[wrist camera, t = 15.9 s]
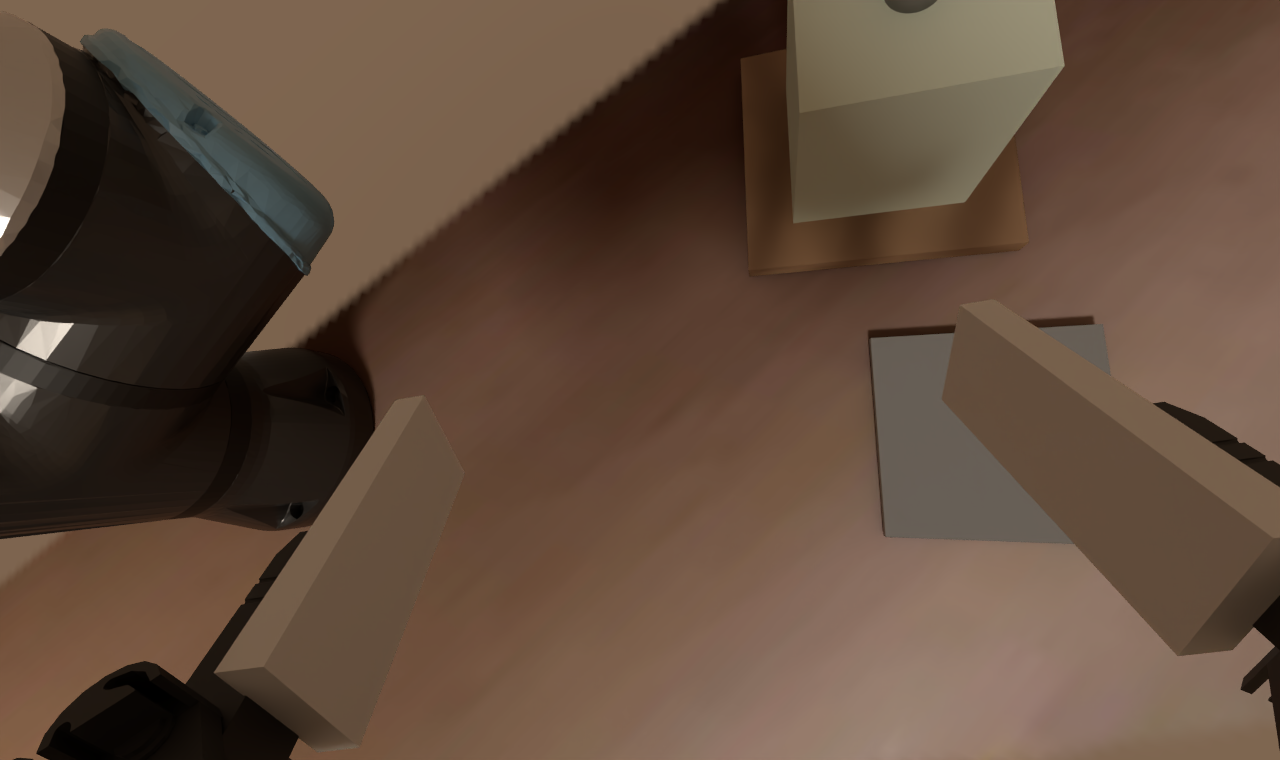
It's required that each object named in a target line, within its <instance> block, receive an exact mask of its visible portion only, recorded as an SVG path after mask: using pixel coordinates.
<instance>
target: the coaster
mask: <svg viewBox="0 0 1280 760" xmlns="http://www.w3.org/2000/svg"><path fill="white" fill-rule="evenodd" d="M1039 329H1040V330H1042V331H1043V332H1045V333H1046V334H1048V335H1049V336H1051V337H1052V338H1054V339H1055V340H1057V341H1058V342H1060V343H1061V344H1063V345H1064V346H1066V347H1067V348H1069V349H1070V350H1072V351H1074V352H1075V353H1077V354H1078V355H1080V356H1081V357H1083V358H1084V359H1086V360H1087V361H1089V362H1090V363H1092V364H1093V365H1095V366H1096V367H1098V368H1099V369H1101V370H1102V371H1104V372H1105V373H1107V374H1108V375H1110V376H1111V374H1110V368H1109V361H1108V355H1107V348H1106V341H1105V335H1104V328H1103V324H1095V325H1079V326H1062V327H1046V328H1039ZM953 338H954V333H947V334H930V335H914V336H898V337H881V338H870V339H869V349H870V362H871V375H872V389H873V402H874V415H875V428H876V441H877V455H878V468H879V481H880V494H881V507H882V521H883V534H884V536H885V537H902V538H929V539H956V540H982V541H1009V542H1035V543H1062V544H1074V543H1073V542H1072V541H1071V540H1070V538H1069V537H1068V536H1067V535H1066V534H1065V533H1064V532H1063V531H1062V530H1061V529H1060V528H1059V526H1058V525H1057V524H1056V523H1055V522H1054V521H1053V520H1052V519H1051V518H1050V517H1049V516H1048V515H1047V513H1046V512H1045V511H1044V510H1043V509H1042V508H1041V507H1040V506H1039V505H1038V504H1037V503H1036V502H1035V500H1034V499H1033V498H1032V497H1031V496H1030V495H1029V494H1028V493H1027V492H1026V491H1025V490H1024V488H1023V487H1022V486H1021V485H1020V484H1019V483H1018V482H1017V481H1016V480H1015V479H1014V478H1013V477H1012V475H1011V474H1010V473H1009V472H1008V471H1007V470H1006V469H1005V468H1004V467H1003V466H1002V465H1001V464H1000V462H999V461H998V460H997V459H996V458H995V457H994V456H993V455H992V454H991V453H990V452H989V450H988V449H987V448H986V447H985V446H984V445H983V444H982V443H981V442H980V441H979V440H978V439H977V437H976V436H975V435H974V434H973V433H972V432H971V431H970V430H969V429H968V428H967V427H966V426H965V424H964V423H963V422H962V421H961V420H960V419H959V418H958V417H957V416H956V415H955V414H954V412H953V411H952V410H951V409H950V408H949V407H948V406H947V405H946V404H945V403H944V402H943V401H942V394H943V389H944V384H945V379H946V374H947V369H948V364H949V358H950V353H951V348H952V343H953Z"/></svg>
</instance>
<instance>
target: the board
mask: <svg viewBox="0 0 1280 760" xmlns="http://www.w3.org/2000/svg"><path fill="white" fill-rule="evenodd" d="M786 61H787V49H783V50H779V51H774V52H769V53H764V54H760V55H755V56H750V57H746V58H741V81H742V108H743V134H744V161H745V187H746V214H747V240H748V267H749V276H750V277H751V276H761V275H771V274H782V273H792V272H802V271H813V270H823V269H833V268H843V267H854V266H864V265H874V264H885V263H895V262H905V261H915V260H926V259H936V258H946V257H957V256H967V255H977V254H988V253H998V252H1008V251H1018V250H1020V249H1022V248H1023V247H1024V246H1025V245H1026V244H1027V243H1028V242H1029V240H1028V232H1027V224H1026V217H1025V209H1024V202H1023V194H1022V186H1021V179H1020V171H1019V164H1018V156H1017V148H1016V141H1015V134H1014V136H1013V137H1012V138H1011V140H1010V141H1009V143H1008V144H1007V145H1006V147H1005V148H1004V149H1003V151H1002V152H1001V154H1000V155H999V156H998V158H997V159H996V160H995V162H994V163H993V164H992V166H991V167H990V169H989V170H988V171H987V173H986V174H985V175H984V177H983V178H982V180H981V181H980V182H979V184H978V185H977V186H976V188H975V189H974V191H973V192H972V193H971V195H970V196H969V197H968V199H967V200H966V202H963V203H955V204H947V205H939V206H931V207H923V208H914V209H906V210H898V211H890V212H882V213H874V214H865V215H857V216H849V217H841V218H833V219H825V220H817V221H808V222H800V223H793V210H792V191H791V172H790V153H789V135H788V116H787V97H786Z"/></svg>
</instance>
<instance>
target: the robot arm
mask: <svg viewBox="0 0 1280 760" xmlns="http://www.w3.org/2000/svg"><path fill="white" fill-rule="evenodd" d="M80 42H81V44H82V45H83V51H82V50H79V49H76V48H74V47H71V46H69V45H68V44H66V43H64V42H62V41H61V40H59V39H57V38H55V37H53V36H52V35H50V34H48V33H46V32H45V31H43V30H41V29H39V28H38V27H36V26H34V25H33V24H31V23H29V22H27V21H25V20H23V19H21V18H19V17H17V16H15V15H12V14H10V13H7V12H4V11H0V539H5V538H13V537H23V536H31V535H40V534H48V533H57V532H66V531H74V530H83V529H91V528H100V527H109V526H117V525H126V524H134V523H143V522H152V521H160V520H168V519H178V518H188V517H196V518H201V519H206V520H211V521H216V522H221V523H227V524H232V525H237V526H242V527H247V528H252V529H257V530H264V531H280V530H286V529H293V528H300V527H306V526H310V525H312V526H311V528H310V529H309V531H305V532H300V533H299V534H298V535H297V536H296V537H294V538H293V539H292V540H291V541H290V542H289V543H288V544H287V545H286V546H285V547H284V548H283V549H282V550H281V551H280V552H278V553H277V554H276V556H275V557H274V558H273V560H272V561H271V563H270V564H269V566H268V567H267V568H266V570H265V571H264V573H263V574H262V576H261V577H260V578H259V580H260V582H259V584H255V586H254V587H253V588H252V590H251V591H250V593H249V594H248V596H247V597H246V598H245V604H243V605H241V606H240V607H239V608H238V610H237V611H236V613H235V614H234V616H233V617H232V618H231V620H230V621H229V623H228V624H227V626H226V627H225V629H224V630H223V631H222V633H221V634H220V636H219V637H218V639H217V640H216V641H215V643H214V644H213V646H212V647H211V649H210V650H209V651H208V653H207V654H206V656H205V657H204V659H203V660H202V661H201V663H200V664H199V666H198V667H197V669H196V670H195V671H194V673H193V674H192V676H191V677H190V679H189V680H188V681H187V683H186V684H184V683H182V682H181V681H180V680H178V679H177V678H175V677H174V676H173V675H171V674H170V673H168V672H167V671H165V670H164V669H163V668H161V667H160V666H158V665H157V664H154V663H150V662H146V661H144V662H139V663H135V664H131V665H127V666H125V667H123V668H121V669H119V670H117V671H115V672H113V673H111V674H109V675H107V676H105V677H104V678H103V679H101V680H100V681H98V682H97V683H96V684H94V685H93V686H91V687H90V688H89V689H87V690H86V691H84V692H83V693H82V694H81V695H80V696H79V697H78V698H77V699H76V700H74V701H73V702H72V703H71V704H70V705H69V706H68V707H67V708H66V709H65V710H64V711H63V712H62V713H61V714H60V715H59V717H58V718H57V719H56V720H55V722H54V723H53V724H52V726H51V727H50V728H49V730H48V731H47V732H46V733H45V735H44V737H43V739H42V742H41V744H40V746H39V748H38V750H37V753H36V754H38V755H40V756H42V757H44V758H46V759H48V760H291V759H290V758H289V756H290V754H291V752H292V750H293V748H294V746H295V744H296V742H297V740H298V738H300V739H301V740H302V741H303V742H305V743H306V744H307V745H309V746H310V747H311V748H313V749H314V750H315V751H317V752H324V751H333V750H342V749H351V748H359V747H360V744H361V742H362V739H363V736H364V734H365V731H366V729H367V726H368V723H369V721H370V718H371V716H372V713H373V710H374V708H375V705H376V703H377V700H378V697H379V695H380V692H381V690H382V687H383V684H384V682H385V679H386V677H387V674H388V671H389V669H390V666H391V664H392V661H393V658H394V656H395V653H396V651H397V648H398V645H399V643H400V640H401V638H402V635H403V632H404V630H405V627H406V625H407V622H408V619H409V617H410V614H411V612H412V609H413V606H414V604H415V601H416V599H417V596H418V593H419V591H420V588H421V586H422V583H423V580H424V578H425V575H426V573H427V570H428V567H429V565H430V562H431V559H432V557H433V554H434V552H435V549H436V546H437V544H438V541H439V539H440V536H441V533H442V531H443V528H444V526H445V523H446V520H447V518H448V515H449V513H450V510H451V507H452V505H453V502H454V500H455V497H456V494H457V492H458V489H459V487H460V484H461V481H462V479H463V476H464V474H465V473H464V471H463V469H462V467H461V465H460V463H459V461H458V459H457V457H456V456H455V454H454V452H453V450H452V448H451V446H450V444H449V442H448V440H447V438H446V436H445V434H444V432H443V430H442V429H441V427H440V425H439V423H438V421H437V419H436V417H435V415H434V413H433V411H432V409H431V407H430V405H429V404H428V402H427V400H426V398H425V396H424V395H422V396H416V397H410V398H404V399H398V400H395V402H394V403H393V405H392V406H391V408H390V409H389V411H388V412H387V414H386V415H385V417H384V418H383V420H382V421H381V423H380V424H379V426H378V427H377V429H376V430H375V432H374V433H373V418H372V410H371V405H370V401H369V398H368V395H367V392H366V390H365V387H364V385H363V383H362V382H361V380H360V378H359V377H358V375H357V374H356V373H355V372H354V370H353V369H352V368H351V367H350V366H348V365H347V364H346V363H345V362H343V361H342V360H340V359H338V358H337V357H334V356H332V355H329V354H325V353H321V352H316V351H312V350H307V349H302V348H281V349H272V350H261V351H251V352H246V351H247V349H248V348H249V347H250V345H251V344H252V343H253V341H254V340H255V339H256V338H257V336H258V335H259V334H260V332H261V331H262V330H263V328H264V327H265V326H266V324H267V323H268V322H269V321H270V319H271V318H272V317H273V315H274V314H275V312H276V311H277V310H278V309H279V307H280V306H281V305H282V304H283V302H284V301H285V300H286V298H287V297H288V296H289V294H290V293H291V292H292V290H293V289H294V288H295V287H296V285H297V284H298V283H299V281H300V280H301V279H302V277H303V276H304V275H308V274H309V273H310V270H311V266H310V264H311V263H312V261H313V260H314V258H315V257H316V255H317V254H318V252H319V251H320V249H321V248H322V246H323V245H324V243H325V242H326V240H327V239H328V237H329V236H330V234H331V233H332V229H333V227H334V217H333V212H332V209H331V207H330V204H329V203H328V201H327V200H326V199H325V197H324V196H323V195H322V194H321V193H320V192H319V191H318V190H317V189H316V188H315V187H314V186H313V185H312V184H311V183H310V182H309V181H308V180H307V179H305V178H304V177H303V176H302V175H301V174H300V173H299V172H298V171H297V170H295V169H294V168H293V167H292V166H290V164H288V163H287V162H286V161H285V160H284V159H282V158H281V157H280V156H279V155H278V154H277V153H276V152H274V151H273V150H272V149H271V148H270V147H269V146H267V145H266V144H265V143H264V142H262V141H261V140H260V139H259V138H258V137H256V136H255V135H254V134H253V133H252V132H250V131H249V130H248V129H247V128H245V127H244V126H243V125H242V124H240V123H239V122H238V121H237V120H236V119H234V118H233V117H232V116H231V115H229V114H228V113H227V112H226V111H224V110H223V109H222V108H221V107H219V106H218V105H217V104H216V103H214V102H213V101H212V100H211V99H210V98H208V97H207V96H206V95H204V94H203V93H202V92H201V91H199V90H198V89H197V88H195V87H194V86H193V85H192V84H190V83H189V82H188V81H187V80H185V79H184V78H183V77H181V76H180V75H179V74H177V73H176V72H175V71H173V70H172V69H171V68H169V67H168V66H167V65H165V64H164V63H163V62H162V61H160V60H159V59H157V58H156V57H155V56H153V55H152V54H151V53H149V52H148V51H146V50H145V49H143V48H142V47H140V46H138V45H136V44H135V43H133V42H132V41H130V40H129V39H128V38H127V37H126V36H125V35H123V34H121V33H119V32H117V31H115V30H112V29H100V30H98V31H97V32H96V33H95V34H94V35H84V36H83V38H82V39H81V41H80ZM942 401H943V402H944V403H945V404H946V405H947V406H948V407H949V408H950V409H951V410H952V411H953V412H954V414H955V415H956V416H957V417H958V418H959V419H960V420H961V421H962V422H963V423H964V424H965V426H966V427H967V428H968V429H969V430H970V431H971V432H972V433H973V434H974V435H975V436H976V437H977V439H978V440H979V441H980V442H981V443H982V444H983V445H984V446H985V447H986V448H987V449H988V450H989V452H990V453H991V454H992V455H993V456H994V457H995V458H996V459H997V460H998V461H999V462H1000V464H1001V465H1002V466H1003V467H1004V468H1005V469H1006V470H1007V471H1008V472H1009V473H1010V474H1011V475H1012V477H1013V478H1014V479H1015V480H1016V481H1017V482H1018V483H1019V484H1020V485H1021V486H1022V487H1023V488H1024V490H1025V491H1026V492H1027V493H1028V494H1029V495H1030V496H1031V497H1032V498H1033V499H1034V500H1035V502H1036V503H1037V504H1038V505H1039V506H1040V507H1041V508H1042V509H1043V510H1044V511H1045V512H1046V513H1047V515H1048V516H1049V517H1050V518H1051V519H1052V520H1053V521H1054V522H1055V523H1056V524H1057V525H1058V526H1059V528H1060V529H1061V530H1062V531H1063V532H1064V533H1065V534H1066V535H1067V536H1068V537H1069V538H1070V540H1071V541H1072V542H1073V543H1074V544H1075V545H1076V546H1077V547H1078V548H1079V549H1080V550H1081V551H1082V553H1083V554H1084V555H1085V556H1086V557H1087V558H1088V559H1089V560H1090V561H1091V562H1092V563H1093V565H1094V566H1095V567H1096V568H1097V569H1098V570H1099V571H1100V572H1101V573H1102V574H1103V575H1104V576H1105V578H1106V579H1107V580H1108V581H1109V582H1110V583H1111V584H1112V585H1113V586H1114V587H1115V588H1116V589H1117V591H1118V592H1119V593H1120V594H1121V595H1122V596H1123V597H1124V598H1125V599H1126V600H1127V601H1128V603H1129V604H1130V605H1131V606H1132V607H1133V608H1134V609H1135V610H1136V611H1137V612H1138V613H1139V614H1140V616H1141V617H1142V618H1143V619H1144V620H1145V621H1146V622H1147V623H1148V624H1149V625H1150V626H1151V627H1152V629H1153V630H1154V631H1155V632H1156V633H1157V634H1158V635H1159V636H1160V637H1161V638H1162V639H1163V641H1164V642H1165V643H1166V644H1167V645H1168V646H1169V647H1170V648H1171V649H1172V650H1173V651H1174V652H1175V654H1176V655H1177V656H1184V655H1193V654H1202V653H1210V652H1219V651H1228V650H1233V649H1234V648H1235V647H1236V646H1237V645H1238V644H1239V643H1240V641H1241V640H1242V639H1243V638H1244V637H1245V636H1246V635H1247V634H1248V633H1249V632H1250V631H1251V629H1252V628H1253V627H1255V628H1256V629H1257V630H1258V631H1259V632H1260V633H1261V634H1262V635H1264V636H1265V637H1266V638H1267V639H1268V640H1269V641H1270V642H1271V643H1272V644H1273V645H1275V647H1274V648H1273V649H1272V650H1271V651H1270V652H1269V653H1268V654H1267V655H1266V656H1265V657H1264V658H1263V659H1262V660H1261V661H1260V662H1259V663H1258V664H1257V665H1256V666H1255V667H1254V668H1253V669H1252V670H1251V671H1250V672H1249V673H1248V674H1247V675H1246V676H1245V677H1244V678H1243V682H1242V686H1241V690H1243V691H1245V692H1248V693H1250V694H1253V693H1254V692H1255V691H1256V690H1257V689H1258V688H1259V687H1260V686H1261V685H1262V684H1263V683H1264V682H1265V681H1266V680H1267V679H1269V683H1270V689H1271V697H1270V698H1269V699H1268V701H1270V702H1272V703H1273V709H1274V716H1275V722H1276V729H1277V735H1278V741H1279V749H1280V465H1279V464H1278V463H1276V462H1275V461H1267V460H1266V458H1265V455H1263V454H1262V453H1260V452H1259V451H1257V450H1255V449H1254V448H1252V447H1251V446H1249V445H1247V444H1246V443H1239V442H1238V441H1237V438H1236V437H1234V436H1233V435H1231V434H1230V433H1228V432H1226V431H1225V430H1223V429H1222V428H1220V427H1218V426H1217V425H1215V424H1214V423H1212V422H1210V421H1209V420H1207V419H1206V418H1204V417H1201V416H1199V415H1196V414H1194V413H1191V412H1189V411H1186V410H1183V409H1181V408H1178V407H1176V406H1173V405H1171V404H1168V403H1166V402H1160V403H1153V404H1152V403H1151V402H1149V401H1148V400H1146V399H1145V398H1143V397H1142V396H1140V395H1139V394H1137V393H1136V392H1134V391H1133V390H1131V389H1130V388H1128V387H1127V386H1125V385H1124V384H1122V383H1121V382H1119V381H1118V380H1116V379H1114V378H1113V377H1111V376H1110V375H1108V374H1107V373H1105V372H1104V371H1102V370H1101V369H1099V368H1098V367H1096V366H1095V365H1093V364H1092V363H1090V362H1089V361H1087V360H1086V359H1084V358H1083V357H1081V356H1080V355H1078V354H1077V353H1075V352H1074V351H1072V350H1070V349H1069V348H1067V347H1066V346H1064V345H1063V344H1061V343H1060V342H1058V341H1057V340H1055V339H1054V338H1052V337H1051V336H1049V335H1048V334H1046V333H1045V332H1043V331H1042V330H1040V329H1039V328H1037V327H1036V326H1034V325H1033V324H1031V323H1030V322H1028V321H1027V320H1025V319H1023V318H1022V317H1020V316H1019V315H1017V314H1016V313H1014V312H1013V311H1011V310H1010V309H1008V308H1007V307H1005V306H1004V305H1002V304H1001V303H999V302H998V301H996V300H995V299H992V300H986V301H980V302H974V303H968V304H962V305H960V307H959V312H958V317H957V323H956V328H955V333H954V338H953V343H952V348H951V353H950V358H949V364H948V369H947V374H946V379H945V384H944V389H943V394H942ZM14 760H33V759H27V758H16V759H14Z"/></svg>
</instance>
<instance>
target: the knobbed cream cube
mask: <svg viewBox="0 0 1280 760" xmlns="http://www.w3.org/2000/svg"><path fill="white" fill-rule="evenodd" d="M1063 67H1064V60H1063V53H1062V47H1061V40H1060V33H1059V27H1058V20H1057V14H1056V7H1055V1H1054V0H788V5H787V61H786V97H787V116H788V135H789V153H790V172H791V191H792V210H793V223H800V222H808V221H817V220H825V219H833V218H841V217H849V216H857V215H865V214H874V213H882V212H890V211H898V210H906V209H914V208H923V207H931V206H939V205H947V204H955V203H963V202H966V200H967V199H968V197H969V196H970V195H971V193H972V192H973V191H974V189H975V188H976V186H977V185H978V184H979V182H980V181H981V180H982V178H983V177H984V175H985V174H986V173H987V171H988V170H989V169H990V167H991V166H992V164H993V163H994V162H995V160H996V159H997V158H998V156H999V155H1000V154H1001V152H1002V151H1003V149H1004V148H1005V147H1006V145H1007V144H1008V143H1009V141H1010V140H1011V138H1012V137H1013V136H1014V134H1015V133H1016V132H1017V130H1018V129H1019V127H1020V126H1021V125H1022V123H1023V122H1024V121H1025V119H1026V118H1027V116H1028V115H1029V114H1030V112H1031V111H1032V110H1033V108H1034V107H1035V105H1036V104H1037V103H1038V101H1039V100H1040V99H1041V97H1042V96H1043V94H1044V93H1045V92H1046V90H1047V89H1048V88H1049V86H1050V85H1051V83H1052V82H1053V81H1054V79H1055V78H1056V77H1057V75H1058V74H1059V72H1060V71H1061V70H1062V68H1063Z"/></svg>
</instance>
